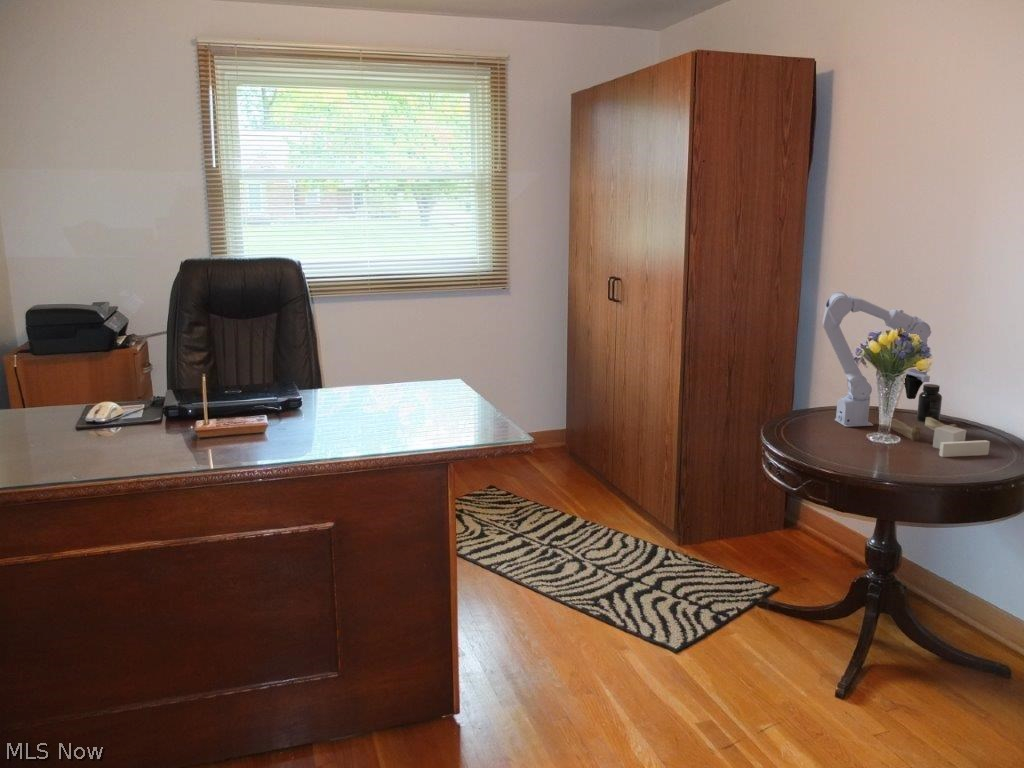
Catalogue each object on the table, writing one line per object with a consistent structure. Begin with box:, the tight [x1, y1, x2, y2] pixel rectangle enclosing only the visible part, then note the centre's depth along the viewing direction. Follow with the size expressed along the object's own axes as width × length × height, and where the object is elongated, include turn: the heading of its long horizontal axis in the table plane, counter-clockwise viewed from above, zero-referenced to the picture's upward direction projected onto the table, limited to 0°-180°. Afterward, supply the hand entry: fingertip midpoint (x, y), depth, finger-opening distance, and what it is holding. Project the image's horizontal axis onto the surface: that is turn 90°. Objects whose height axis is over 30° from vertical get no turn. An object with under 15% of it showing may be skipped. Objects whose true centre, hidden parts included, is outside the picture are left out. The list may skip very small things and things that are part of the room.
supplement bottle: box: [916, 383, 943, 423], centre depth 263 cm, size 7×7×12 cm
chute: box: [890, 417, 958, 442], centre depth 250 cm, size 14×14×4 cm
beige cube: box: [932, 424, 967, 450], centre depth 236 cm, size 6×6×6 cm
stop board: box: [938, 439, 991, 458], centre depth 230 cm, size 14×2×4 cm, turn 95°
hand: (910, 398), depth 256 cm, fingers closed
